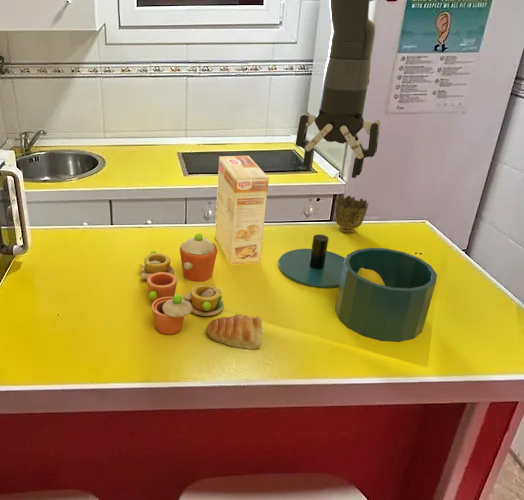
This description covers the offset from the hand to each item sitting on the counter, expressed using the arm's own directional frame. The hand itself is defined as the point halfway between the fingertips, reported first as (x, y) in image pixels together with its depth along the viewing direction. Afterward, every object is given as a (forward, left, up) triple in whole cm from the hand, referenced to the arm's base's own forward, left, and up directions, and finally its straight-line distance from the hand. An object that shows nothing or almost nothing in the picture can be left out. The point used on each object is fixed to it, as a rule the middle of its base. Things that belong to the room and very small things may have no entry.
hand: (331, 173), depth 98 cm
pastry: (+6, +29, -21) cm, 37 cm away
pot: (-14, +12, -21) cm, 28 cm away
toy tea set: (+20, +22, -21) cm, 37 cm away
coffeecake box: (+18, -1, -21) cm, 28 cm away
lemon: (-14, +12, -20) cm, 27 cm away
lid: (0, 0, -21) cm, 21 cm away
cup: (-2, -22, -21) cm, 31 cm away
